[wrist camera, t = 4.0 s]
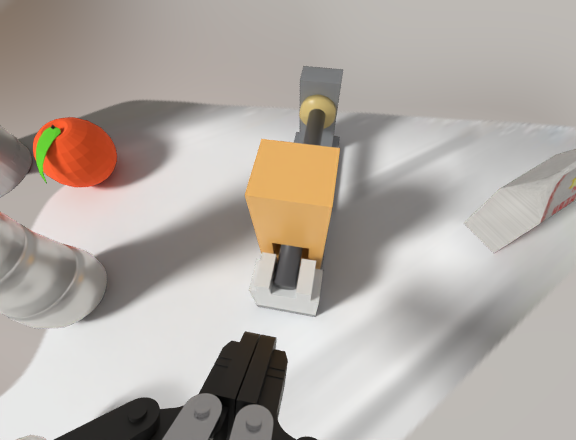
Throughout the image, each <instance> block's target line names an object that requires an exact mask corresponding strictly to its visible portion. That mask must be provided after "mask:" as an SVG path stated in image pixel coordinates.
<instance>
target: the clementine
mask: <svg viewBox="0 0 576 440" xmlns="http://www.w3.org/2000/svg"><path fill="white" fill-rule="evenodd" d="M33 153H34V157H35V160H36V163H37V167H38V170H39V173H40V175H41V176H42V178H43V179H44V181H45V182H46V180H45V177H44V174H43V172H44V173H45V174H46V175H47V176H49V177H51V178H52V179H54V180H55V181H57V182H59V183H61V184H64V185H68V186H72V187H89V186H94V185H96V184H99V183H101V182H102V181H104V180H106V179H107V178H108V177H109V176H110V175H111V173H112V172H113V170H114V168H115V165H116V162H117V153H116V148H115V146H114V143H113V141H112V140H111V138H110V137H109V136H108V134H107V133H106V132H105V131H104V130H103V129H101V128H100V127H99V126H97V125H95V124H93V123H91V122H89V121H87V120H83V119H79V118H73V117H68V118H60V119H55V120H53V121H50V122H48V123H47V124H45V125H44V126H43V127H42V128H41V129H40V130H39V131H38V133H37V135H36V136H35V138H34V142H33ZM46 183H47V182H46Z"/></svg>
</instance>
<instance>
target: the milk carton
mask: <svg viewBox="0 0 576 440" xmlns="http://www.w3.org/2000/svg"><path fill="white" fill-rule="evenodd" d="M574 200H576V149H574V150H570V151H567V152H563V153H560V154H556V155H555V156H553V157H551V158H550V159H548V160H546V161H545V162H543V163H541V164H540V165H538V166H536V167H535V168H533V169H532V170H530V171H528V172H527V173H525V174H523V175H522V176H520V177H518V178H517V179H515V180H513V181H512V182H510V183H509V184H507V185H505V186H504V187H502V188H500V189H499V190H498V191H497V192H496V193H495V194H494V195H493V196H492V197H491V198H490V199H489V200H487V201H486V202H485V203H484V204H483V205H482V206H481V207H480V208H479V209H478V210H477V211H476V212H475V213H474V214H473V215H472V216H471V217H470V218H468V219H467V220H466V221H465V222H464V224H465V225H466V226H467V227H468V228H469V229H470V230H471V231H472V232H473V233H474V234H475V235H476V236H477V237H478V238H479V239H480V240H481V241H482V242H483V243H484V244H485V245H486V246H487V247H488V248H489V249H490V250H491V251H492V252H493V253H495V252H497V251H498V250H500V249H501V248H503V247H504V246H506V245H508V244H509V243H511V242H512V241H514V240H515V239H517V238H518V237H520V236H521V235H523V234H525V233H526V232H528V231H529V230H531V229H532V228H534V227H535V226H537V225H538V224H540V223H541V222H543V221H544V220H546V219H547V218H549V217H550V216H552V215H553V214H555V213H556V212H558V211H559V210H561V209H562V208H564V207H565V206H567V205H568V204H570V203H571V202H573V201H574Z"/></svg>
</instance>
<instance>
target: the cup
mask: <svg viewBox="0 0 576 440" xmlns="http://www.w3.org/2000/svg"><path fill="white" fill-rule="evenodd" d="M16 440H46V439H45V438H44V437H40V436H35V435H29V436H26V437H22V438H19V439H16Z"/></svg>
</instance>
